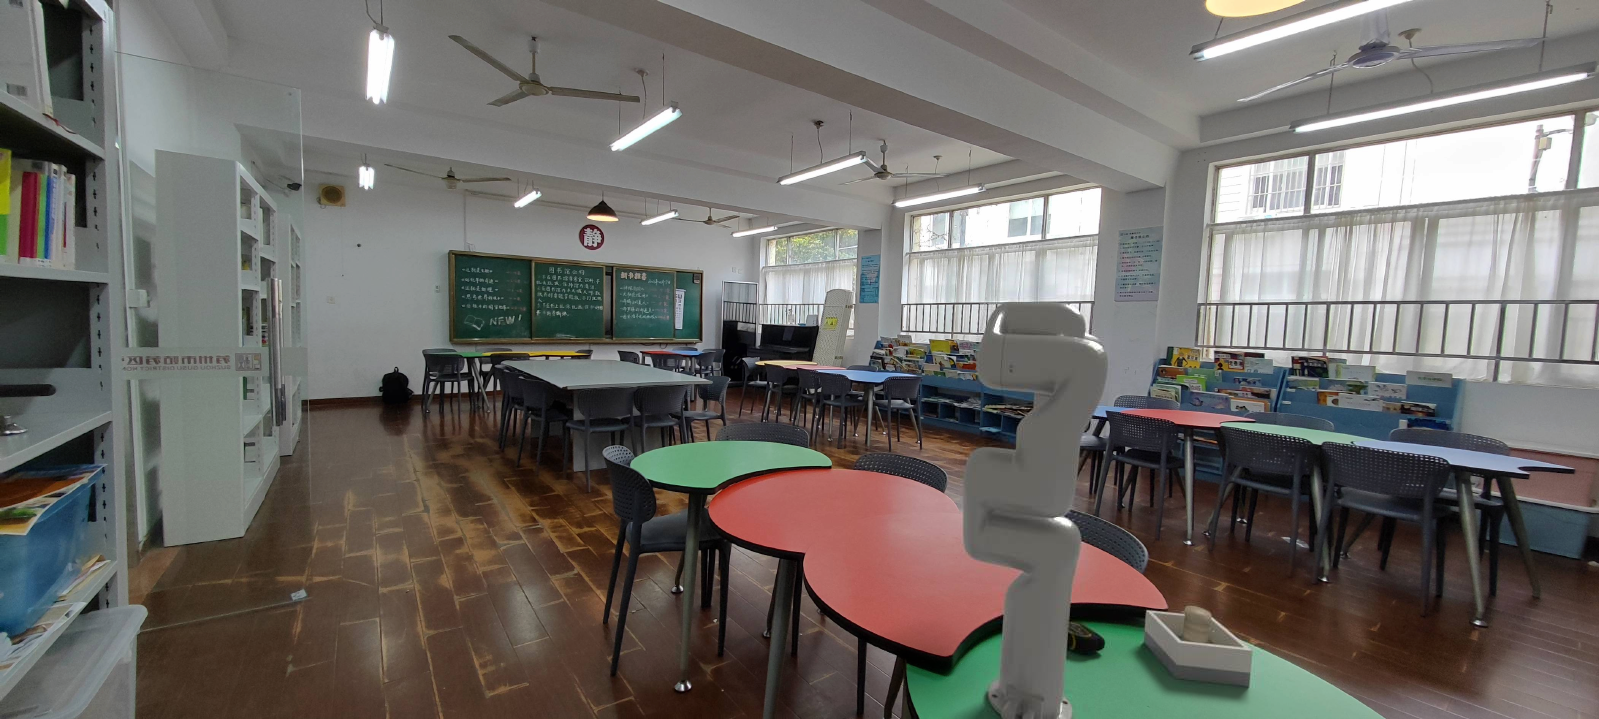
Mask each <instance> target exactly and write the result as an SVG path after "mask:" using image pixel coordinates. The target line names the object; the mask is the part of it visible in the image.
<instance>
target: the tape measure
mask: <svg viewBox="0 0 1599 719" xmlns="http://www.w3.org/2000/svg"><path fill="white" fill-rule="evenodd" d="M1105 645H1106V640H1105V638H1103V637H1102V636H1101V635H1100V634H1099V633H1097V632H1096V631H1095V630H1092V628H1090V627H1088V626H1086V625H1085V624H1083V623H1082V622H1080V621H1078V620H1077V621H1073V622H1072V621H1071V622H1070V621H1069V624H1068V638H1067V649H1069V650H1071V651H1073V652H1076V653H1080V654H1084V655H1087V654H1088V655H1090V654H1091V655H1092V654H1094V653H1096V652H1099V651H1103V649H1105V647H1106V646H1105Z"/></svg>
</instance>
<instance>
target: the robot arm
mask: <svg viewBox="0 0 1599 719" xmlns="http://www.w3.org/2000/svg"><path fill="white" fill-rule="evenodd" d="M1086 324H1087V323H1086V320H1085V317H1084V316H1083V314H1082V312H1081V311H1080V310H1079V309H1077V308H1075V307H1074V306H1072V305H1070V304H1067V303H1060V302H1049V301H1047V302H1046V301H1044V302H1043V301H1042V302H1040V301H1037V302H1036V301H1005V302H1002V303H1001V304H999V305H998V306H997V307H995V309H994V310H993V312H992V313H991V315H990V316H989V318H988V320H987V323H986V325H985V329H984V332H983V333H982V338H981V340H980V344H979V346H978V350H977V355H976V361H975V362H976V363H975V366H976V374H977V377H978V380H979V382H980V383H982V385H983V386H985V387H986V388H989V389H993V390H999V391H1001V390H1002V391H1011V392H1013V391H1014V392H1023V393H1034V396H1033V408H1032V409H1031V410H1030V411H1029V412H1028V413H1026V415H1025V416H1024V417H1023V418H1022V419H1021V420H1020V422H1019V423H1018V425H1017V428H1016V439H1015V440H1016V441H1015V442H1016V443H1015V449H1009V448H1001V447H995V446H994V447H991V446H988V447H987V446H986V447H985V446H982V447H978V448H976V449H975V450H973V451H972V452H971V453H970V454H969V456H968V458H967V460H966V464H965V466H964V472H963V481H962V482H963V484H962V495H963V496H962V541H963V542H962V543H963V546H964V550H965V552H966V554H967V555H968V556H969V557H970V558H972V559H973V560H976V561H979V562H983V563H986V564H989V565H996V566H1001V567H1005V568H1010V569H1013V570H1014V569H1015V570H1017V571H1022V572H1021V573H1020V574H1019V575H1018V576H1017V577H1016V578H1014V580H1013V581H1012V582H1010V584H1009V586H1008V587H1007V589H1006V592H1005V598H1004V604H1003V605H1004V606H1003V617H1002V618H1003V620H1002V636H1001V649H1000V665H999V676H998V678H995V679H994V680H993V681H991V683H989V684H990V685H989V686H988V693H987V698H988V701H989V703H990V706H992V708H993V709H994V710H995V711H996V713H997V714H998V715H1000V716H1001V718H1002V719H1073V718H1074V710H1073V707H1072V705H1071V703H1070V701H1069V700H1068V698H1066V696H1065V695H1064V689H1065V676H1066V662H1067V649H1068V647H1067V638H1068V624H1069V622H1070V621H1069V620H1070V612H1071V611H1070V610H1071V603H1072V602H1071V601H1072V592H1073V586H1074V581H1075V575H1076V571H1077V567H1078V563H1079V558H1080V555H1081V550H1082V536H1081V532H1080V529H1079V528H1078V525H1076V524H1075V522H1073V521H1072V520H1070V519H1069V518H1067V517H1066V516H1065V515H1067V514H1068V513H1069V512H1070V511H1071V510H1072V508H1073V506H1074V501H1075V498H1076V497H1075V496H1076V491H1077V490H1076V489H1077V480H1078V472H1079V462H1080V461H1079V460H1080V451H1081V442H1082V438H1083V436H1084V434H1085V430H1086V429H1087V427H1088V425H1089V423H1090V421H1091V420H1092V418H1093V416H1094V414H1095V412H1096V410H1097V408H1098V406H1099V404H1100V402H1101V400H1102V397H1103V395H1104V391H1105V387H1106V384H1107V383H1106V382H1107V378H1108V372H1109V371H1108V370H1109V359H1108V354H1107V352H1106V349H1105V345H1104V343H1103V342H1102V341H1101V339H1099V338H1098V337H1096V336H1094V335H1092V334H1088V333H1087V332H1086V330H1087V328H1086Z"/></svg>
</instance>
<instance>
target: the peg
mask: <svg viewBox="0 0 1599 719" xmlns="http://www.w3.org/2000/svg"><path fill="white" fill-rule="evenodd" d="M1184 614H1185V616H1184V626H1183V636H1182V641H1187V642H1196V643H1206V644H1209V635H1210V625H1211V617H1212V613H1211V612H1210V611H1208V610H1207V609H1204V608H1202V607H1199V606H1196V605H1186V606H1185V608H1184Z"/></svg>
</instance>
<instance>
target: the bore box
mask: <svg viewBox="0 0 1599 719" xmlns="http://www.w3.org/2000/svg"><path fill="white" fill-rule="evenodd" d="M1145 611H1146V612H1145V621H1144V635H1143V643H1144V644H1145V645H1146V647H1147V648H1148V649H1149V650H1150V651H1151V653H1153V654H1154V655H1155V657H1156V658H1157V659H1158V660H1159V661H1160V662H1161V664H1162V665H1164V667H1165V668H1166V669H1167V670H1168V671H1169V673H1170V674H1171V675H1172V676H1173V677H1174V678H1175V679H1177V680H1187V681H1193V682H1194V681H1197V682H1204V683H1213V684H1222V685H1231V686H1241V687H1246V688H1247V687H1248V688H1249V687H1250V682H1251V672H1252V671H1251V670H1252V662H1253V661H1252V660H1253V659H1252V658H1253V650H1252V649H1251V648H1250V647H1249V646H1247V645H1246V643H1244V642H1243V641H1241V639H1239V638H1238V637H1236V636H1235V635H1234V634H1233V633H1232V632H1231V631H1229V630H1228V629H1227V628H1226V627H1225V626H1224V625H1222V624H1221V623H1220V622H1219V621H1217V619H1215V618H1214V617H1212V616H1211V625H1210V635H1209V644H1206V643H1196V642H1187V641H1182V636H1183V626H1184V616H1185V613H1176V612H1168V611H1158V610H1147V609H1146V610H1145ZM1213 631H1214V632H1213Z"/></svg>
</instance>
